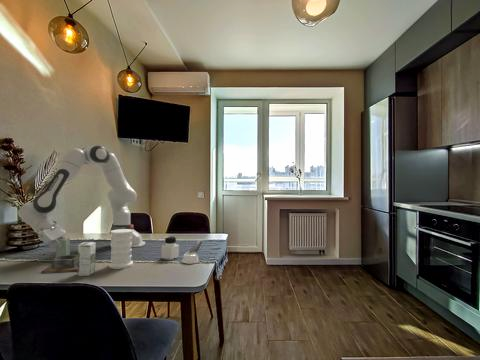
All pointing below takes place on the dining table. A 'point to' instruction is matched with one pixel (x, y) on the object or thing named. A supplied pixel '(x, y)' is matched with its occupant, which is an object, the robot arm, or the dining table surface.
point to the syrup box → (86, 259)
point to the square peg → (63, 247)
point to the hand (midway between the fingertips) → (64, 244)
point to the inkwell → (192, 254)
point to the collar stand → (63, 264)
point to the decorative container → (121, 249)
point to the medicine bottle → (170, 248)
